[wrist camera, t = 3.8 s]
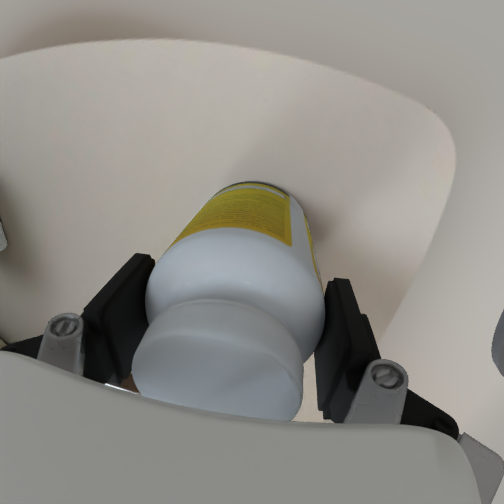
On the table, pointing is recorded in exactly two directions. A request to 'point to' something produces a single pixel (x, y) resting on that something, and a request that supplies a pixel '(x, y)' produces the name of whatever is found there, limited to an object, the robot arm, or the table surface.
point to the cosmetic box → (2, 239)
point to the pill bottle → (234, 308)
